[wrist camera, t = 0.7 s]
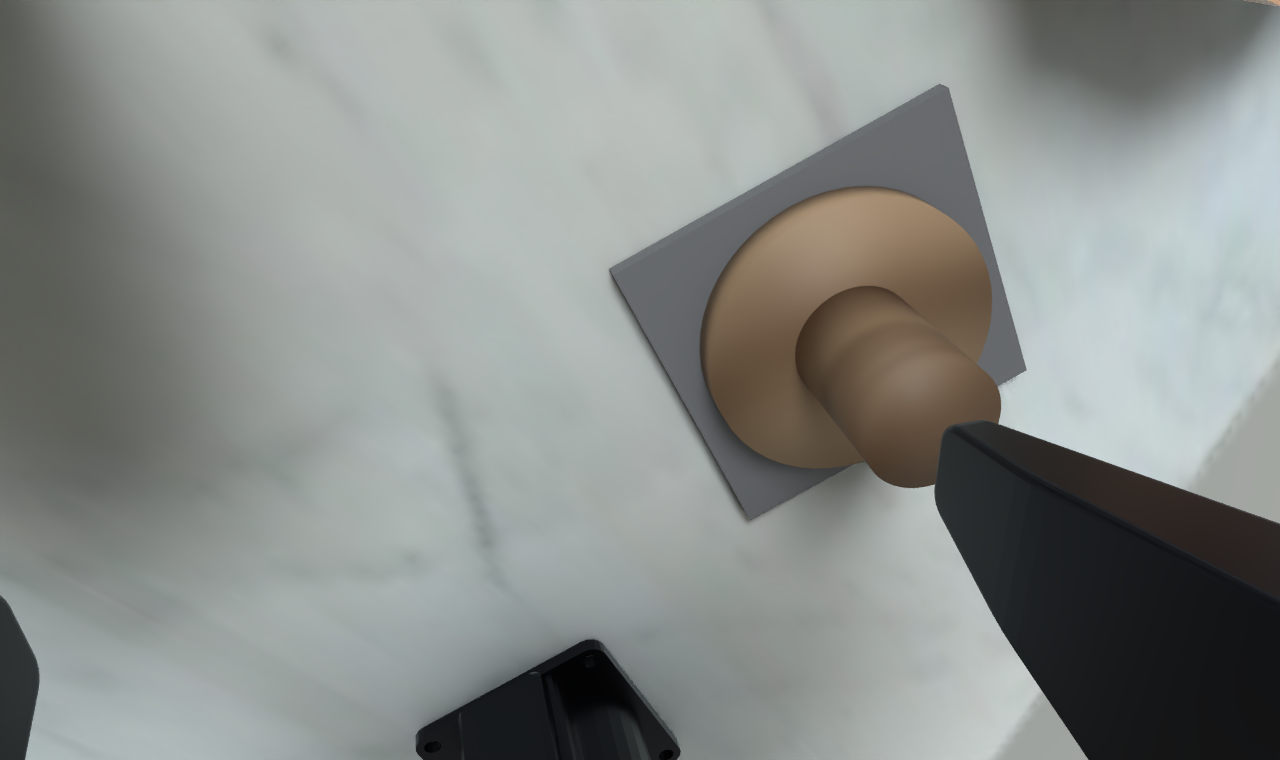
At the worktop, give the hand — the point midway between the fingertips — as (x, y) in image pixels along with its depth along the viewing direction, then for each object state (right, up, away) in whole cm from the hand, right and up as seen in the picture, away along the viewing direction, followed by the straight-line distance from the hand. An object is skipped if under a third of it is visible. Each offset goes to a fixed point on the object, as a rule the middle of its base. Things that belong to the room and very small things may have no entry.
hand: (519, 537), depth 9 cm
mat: (+6, +3, +16) cm, 17 cm away
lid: (+6, +3, +15) cm, 17 cm away
